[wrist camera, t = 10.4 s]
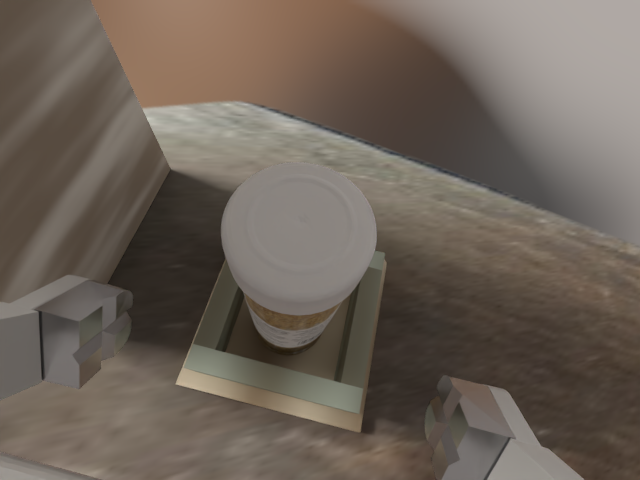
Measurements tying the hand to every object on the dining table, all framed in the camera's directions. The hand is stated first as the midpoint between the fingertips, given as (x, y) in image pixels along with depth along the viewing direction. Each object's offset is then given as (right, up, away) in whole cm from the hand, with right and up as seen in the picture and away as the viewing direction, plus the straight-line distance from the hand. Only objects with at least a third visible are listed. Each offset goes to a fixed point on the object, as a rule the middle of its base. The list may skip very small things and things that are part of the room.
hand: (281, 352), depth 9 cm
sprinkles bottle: (-1, -2, +13) cm, 13 cm away
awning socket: (-5, 0, +15) cm, 15 cm away
